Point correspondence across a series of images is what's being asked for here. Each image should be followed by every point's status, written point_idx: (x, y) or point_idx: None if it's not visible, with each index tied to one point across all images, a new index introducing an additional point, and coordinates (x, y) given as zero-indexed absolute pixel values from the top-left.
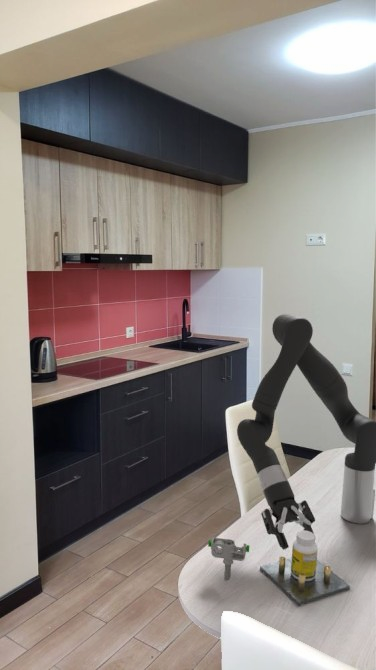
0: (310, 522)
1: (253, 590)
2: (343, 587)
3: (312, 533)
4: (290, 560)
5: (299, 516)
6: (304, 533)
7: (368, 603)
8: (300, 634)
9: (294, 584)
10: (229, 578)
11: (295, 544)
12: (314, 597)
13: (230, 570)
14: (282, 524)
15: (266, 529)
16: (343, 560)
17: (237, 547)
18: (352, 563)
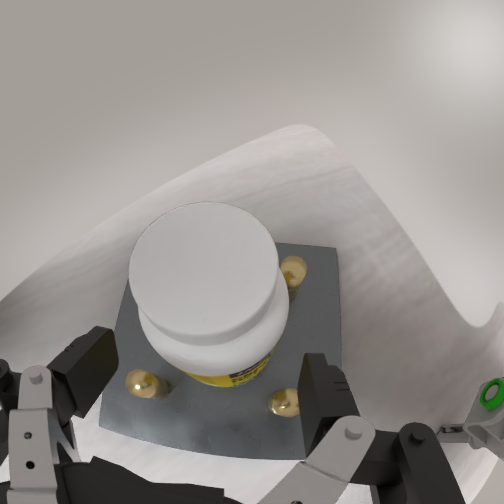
0: (25, 371)
1: (410, 363)
2: None
3: (139, 250)
4: (196, 437)
5: (51, 438)
6: (191, 281)
7: (162, 189)
8: (375, 195)
9: (294, 315)
10: (445, 425)
11: (277, 315)
12: (277, 243)
13: (453, 433)
14: (315, 466)
15: (405, 491)
16: (44, 335)
17: (497, 431)
18: (41, 310)
